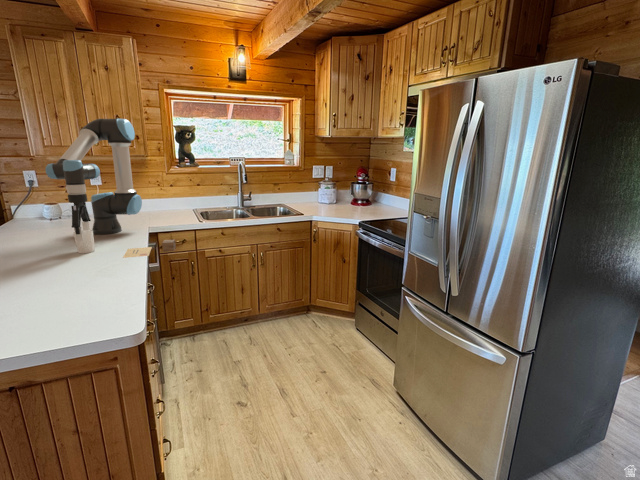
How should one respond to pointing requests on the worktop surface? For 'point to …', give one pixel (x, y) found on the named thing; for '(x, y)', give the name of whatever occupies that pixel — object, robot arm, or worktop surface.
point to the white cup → (85, 242)
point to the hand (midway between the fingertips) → (83, 237)
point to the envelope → (137, 252)
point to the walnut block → (168, 245)
